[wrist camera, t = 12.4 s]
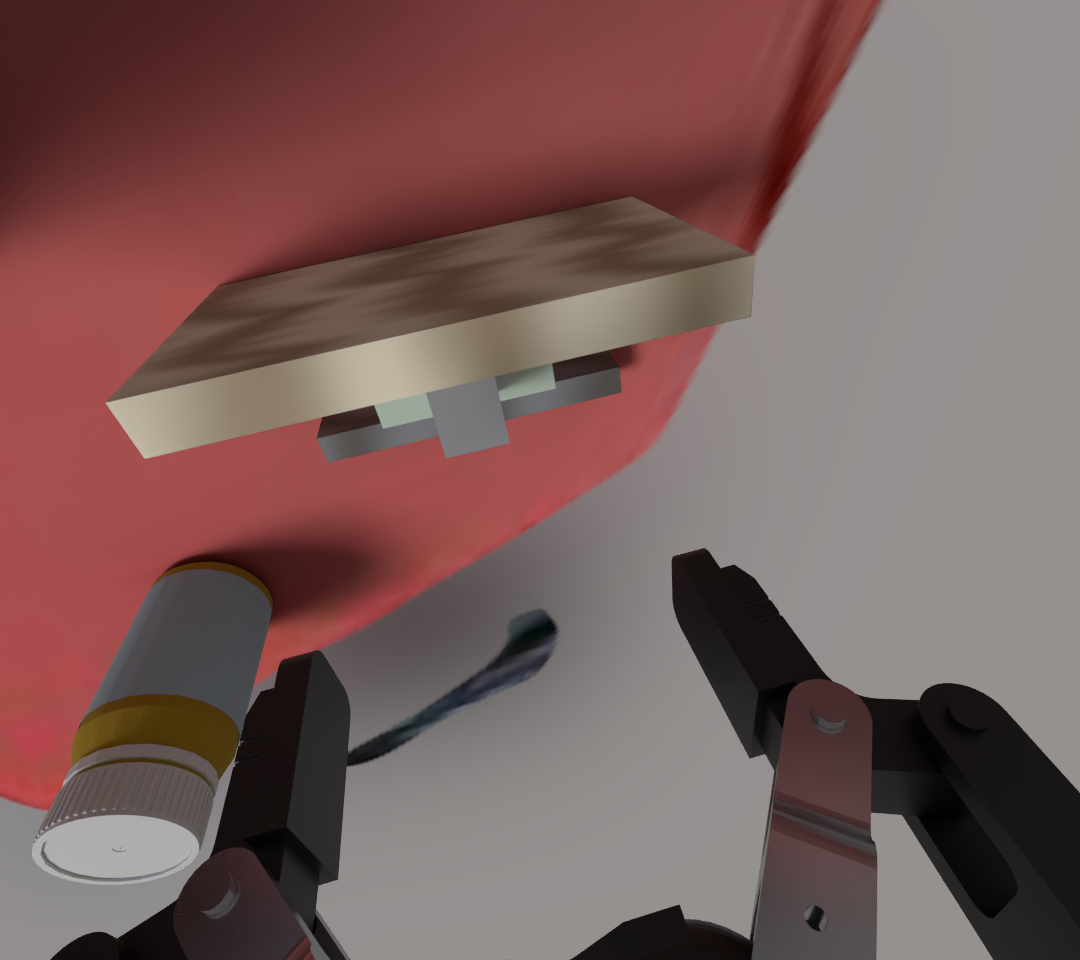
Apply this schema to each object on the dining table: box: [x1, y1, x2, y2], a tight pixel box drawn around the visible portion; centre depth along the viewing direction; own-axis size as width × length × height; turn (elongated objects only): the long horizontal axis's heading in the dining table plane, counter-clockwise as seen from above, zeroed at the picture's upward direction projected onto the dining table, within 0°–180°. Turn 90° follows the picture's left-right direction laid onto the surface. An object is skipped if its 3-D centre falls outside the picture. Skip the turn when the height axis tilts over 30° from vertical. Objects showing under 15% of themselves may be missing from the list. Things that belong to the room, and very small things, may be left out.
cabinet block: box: [374, 363, 556, 458], centre depth 25 cm, size 8×4×10 cm, turn 99°
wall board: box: [106, 196, 755, 463], centre depth 24 cm, size 20×9×12 cm, turn 99°
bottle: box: [32, 561, 273, 885], centre depth 30 cm, size 7×7×15 cm
